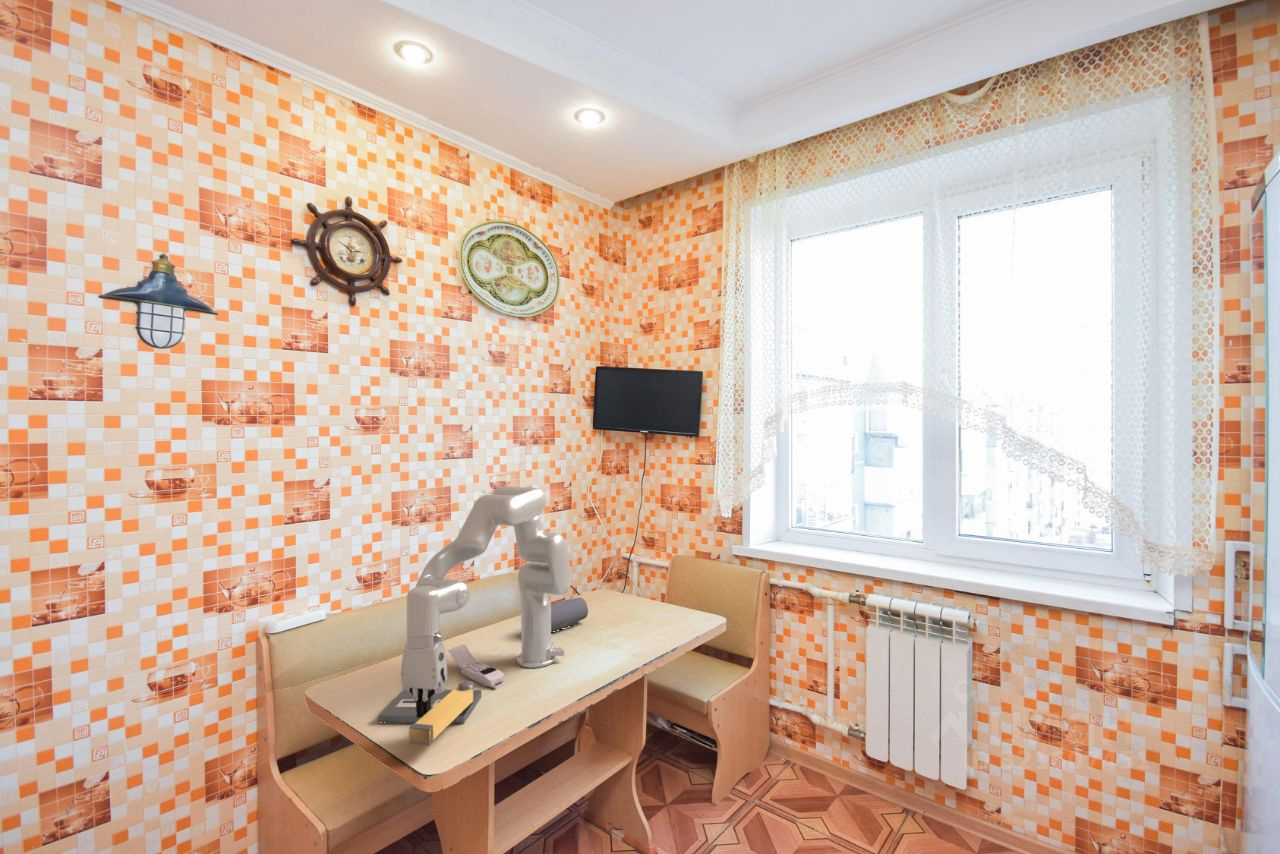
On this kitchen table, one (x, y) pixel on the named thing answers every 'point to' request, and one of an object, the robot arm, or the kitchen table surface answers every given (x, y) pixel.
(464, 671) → the mobile phone
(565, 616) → the bluetooth speaker
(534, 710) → the kitchen table surface
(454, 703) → the bar
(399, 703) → the plate
